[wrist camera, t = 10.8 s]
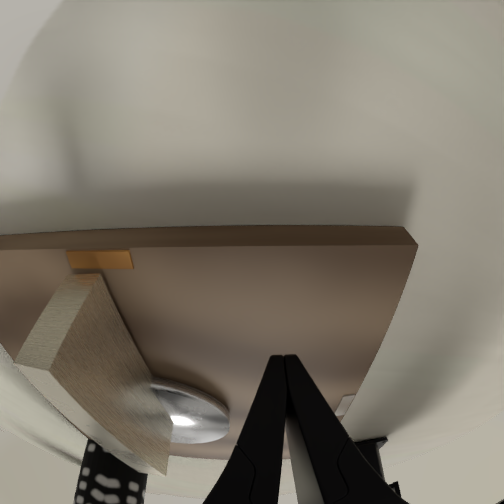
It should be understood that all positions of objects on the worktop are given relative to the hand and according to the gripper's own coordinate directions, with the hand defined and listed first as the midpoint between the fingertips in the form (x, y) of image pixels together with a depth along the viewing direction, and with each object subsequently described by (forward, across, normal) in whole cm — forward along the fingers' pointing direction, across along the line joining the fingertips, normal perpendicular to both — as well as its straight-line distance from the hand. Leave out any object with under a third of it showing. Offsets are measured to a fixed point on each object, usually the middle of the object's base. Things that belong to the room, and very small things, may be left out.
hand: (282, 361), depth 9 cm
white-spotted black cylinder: (+5, +18, +28) cm, 34 cm away
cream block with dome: (+3, +7, +7) cm, 10 cm away
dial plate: (+4, +7, +10) cm, 13 cm away
